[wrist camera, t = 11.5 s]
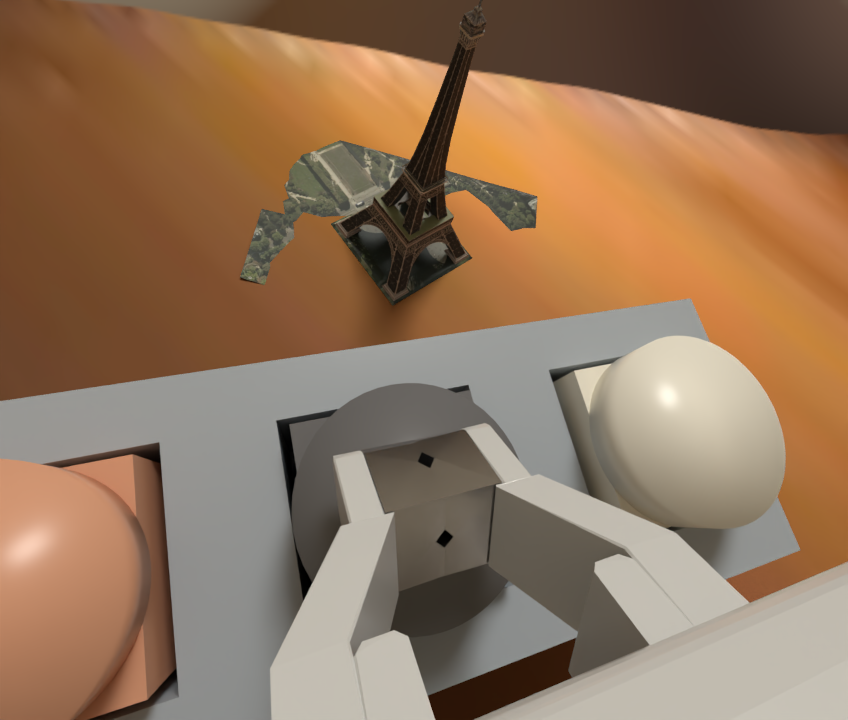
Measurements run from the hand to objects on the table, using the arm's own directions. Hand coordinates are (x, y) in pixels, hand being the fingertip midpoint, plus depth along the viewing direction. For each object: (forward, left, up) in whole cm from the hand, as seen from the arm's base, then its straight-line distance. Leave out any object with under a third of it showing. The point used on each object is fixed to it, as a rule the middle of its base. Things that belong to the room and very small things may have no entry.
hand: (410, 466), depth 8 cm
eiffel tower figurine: (-5, -12, -12) cm, 18 cm away
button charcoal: (0, +1, -8) cm, 8 cm away
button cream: (-8, +1, -8) cm, 11 cm away
